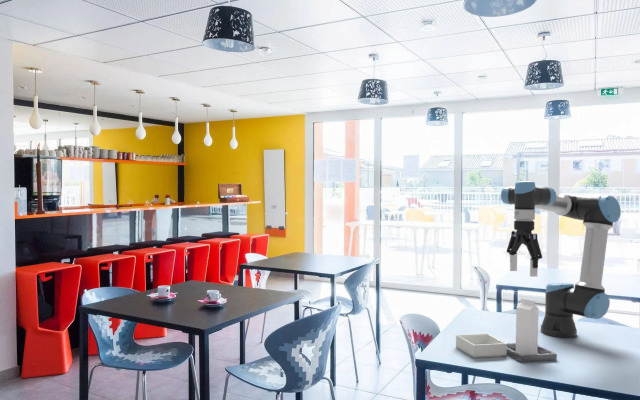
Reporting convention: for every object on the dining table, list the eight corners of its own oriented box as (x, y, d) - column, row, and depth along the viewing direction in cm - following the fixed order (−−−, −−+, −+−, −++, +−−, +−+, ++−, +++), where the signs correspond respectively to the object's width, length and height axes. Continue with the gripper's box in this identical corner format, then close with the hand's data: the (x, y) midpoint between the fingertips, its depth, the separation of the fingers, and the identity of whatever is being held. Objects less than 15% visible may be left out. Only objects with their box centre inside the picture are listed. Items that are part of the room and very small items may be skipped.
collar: (531, 348, 209) (531, 342, 209) (556, 360, 194) (556, 353, 194) (497, 349, 206) (497, 343, 206) (520, 362, 191) (521, 355, 191)
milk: (529, 358, 196) (530, 302, 196) (515, 354, 201) (516, 299, 200) (537, 355, 200) (539, 300, 199) (523, 351, 204) (524, 297, 204)
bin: (486, 345, 212) (487, 333, 212) (506, 356, 198) (506, 343, 198) (455, 347, 209) (456, 335, 209) (473, 358, 195) (473, 345, 195)
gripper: (498, 218, 212) (497, 268, 212) (535, 222, 187) (533, 279, 188) (514, 218, 213) (513, 268, 214) (552, 222, 189) (551, 278, 189)
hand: (523, 273), depth 201 cm, fingers open, 13 cm apart
